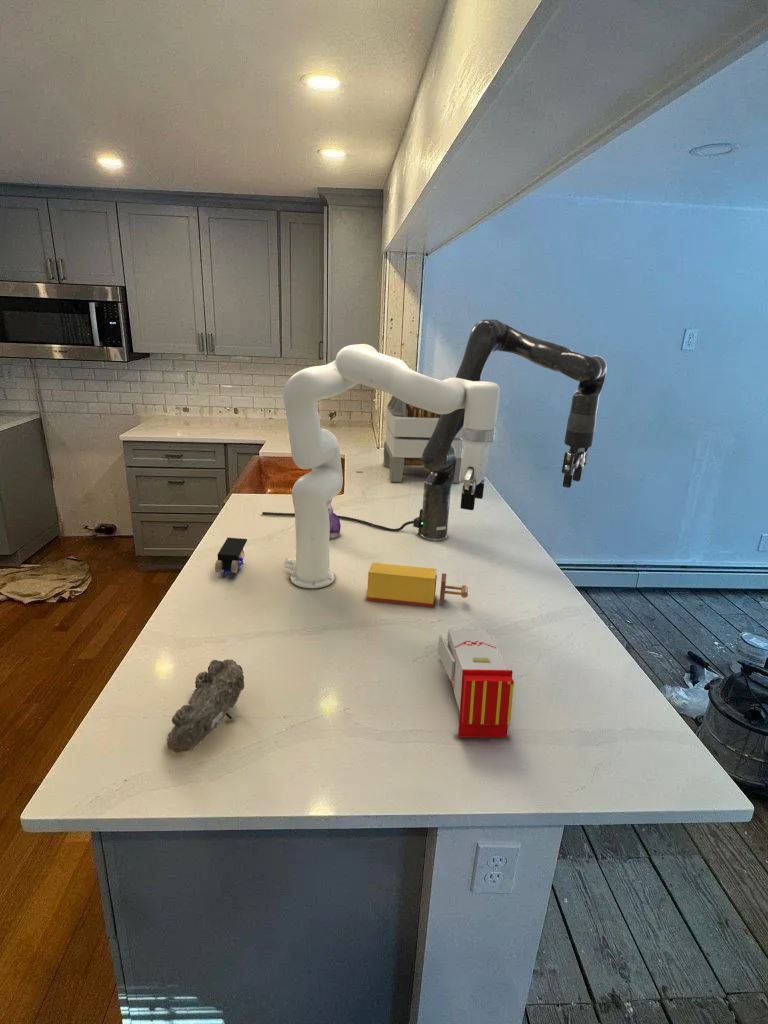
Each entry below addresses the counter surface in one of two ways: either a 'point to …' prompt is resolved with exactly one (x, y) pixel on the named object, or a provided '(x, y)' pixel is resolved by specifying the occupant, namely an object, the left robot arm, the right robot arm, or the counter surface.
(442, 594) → the drawer
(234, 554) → the figurine character
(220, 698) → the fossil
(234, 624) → the counter surface
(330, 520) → the figurine
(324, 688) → the counter surface
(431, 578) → the cabinet
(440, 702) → the counter surface
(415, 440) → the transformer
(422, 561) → the counter surface
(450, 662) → the toy
